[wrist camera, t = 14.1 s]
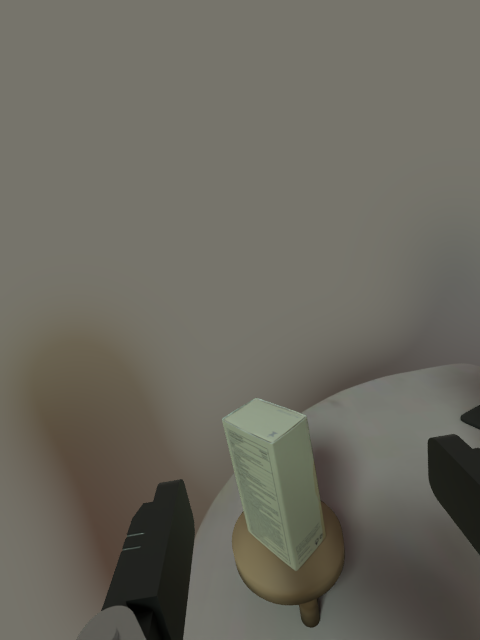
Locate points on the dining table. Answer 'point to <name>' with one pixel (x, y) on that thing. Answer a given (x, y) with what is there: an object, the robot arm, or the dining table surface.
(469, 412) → the phone
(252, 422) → the skincare box
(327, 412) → the dining table surface
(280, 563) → the stool
